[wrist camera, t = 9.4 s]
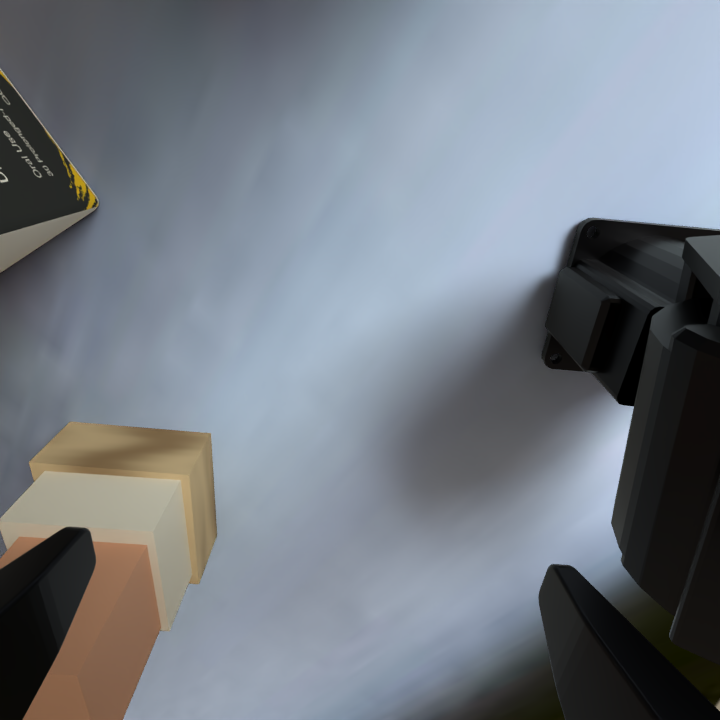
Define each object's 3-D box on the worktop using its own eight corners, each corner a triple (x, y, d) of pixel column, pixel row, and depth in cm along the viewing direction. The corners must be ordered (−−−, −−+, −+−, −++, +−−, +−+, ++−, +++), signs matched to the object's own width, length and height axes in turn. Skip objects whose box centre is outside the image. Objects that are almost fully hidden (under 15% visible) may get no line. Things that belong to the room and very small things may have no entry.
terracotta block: (147, 544, 19) (77, 675, 14) (161, 627, 21) (104, 763, 16) (19, 536, 19) (-92, 665, 14) (46, 620, 21) (-42, 755, 16)
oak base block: (212, 429, 24) (189, 475, 21) (218, 531, 27) (198, 584, 24) (73, 418, 24) (28, 462, 21) (95, 521, 27) (59, 573, 24)
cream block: (180, 479, 21) (153, 531, 18) (192, 574, 24) (169, 631, 21) (44, 470, 21) (-3, 521, 18) (71, 566, 24) (32, 622, 21)
